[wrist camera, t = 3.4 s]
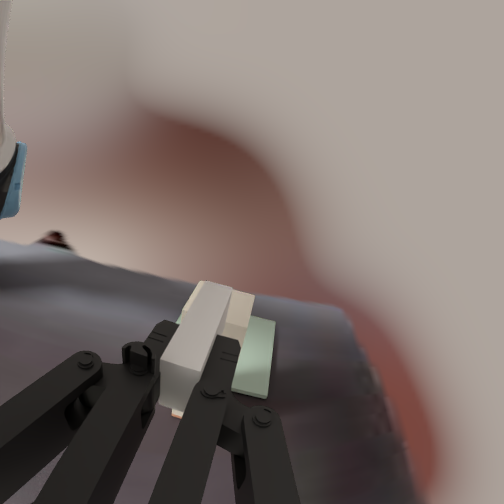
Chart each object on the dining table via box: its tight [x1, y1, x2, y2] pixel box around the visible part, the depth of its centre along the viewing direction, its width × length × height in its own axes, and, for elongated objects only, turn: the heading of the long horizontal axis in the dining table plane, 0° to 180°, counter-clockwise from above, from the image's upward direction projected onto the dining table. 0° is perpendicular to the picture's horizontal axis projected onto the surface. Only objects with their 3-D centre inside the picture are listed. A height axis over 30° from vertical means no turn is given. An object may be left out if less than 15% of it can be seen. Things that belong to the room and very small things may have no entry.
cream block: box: [172, 281, 255, 419], centre depth 27 cm, size 5×5×14 cm
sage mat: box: [176, 313, 276, 399], centre depth 40 cm, size 14×16×1 cm
